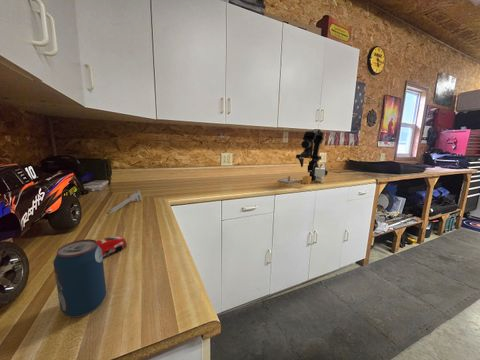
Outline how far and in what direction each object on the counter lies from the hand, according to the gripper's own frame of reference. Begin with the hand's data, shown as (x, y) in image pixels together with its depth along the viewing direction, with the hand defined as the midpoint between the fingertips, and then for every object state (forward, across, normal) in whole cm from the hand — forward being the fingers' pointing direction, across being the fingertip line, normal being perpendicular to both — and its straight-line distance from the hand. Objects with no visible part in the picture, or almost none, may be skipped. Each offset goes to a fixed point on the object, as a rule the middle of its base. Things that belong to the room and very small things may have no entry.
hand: (307, 168), depth 163 cm
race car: (+9, +18, -142) cm, 143 cm away
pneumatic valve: (+12, +3, +14) cm, 19 cm away
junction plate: (+12, -12, -7) cm, 18 cm away
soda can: (+9, +36, -147) cm, 152 cm away
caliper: (+10, -23, -124) cm, 127 cm away
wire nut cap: (+12, 0, 0) cm, 12 cm away
